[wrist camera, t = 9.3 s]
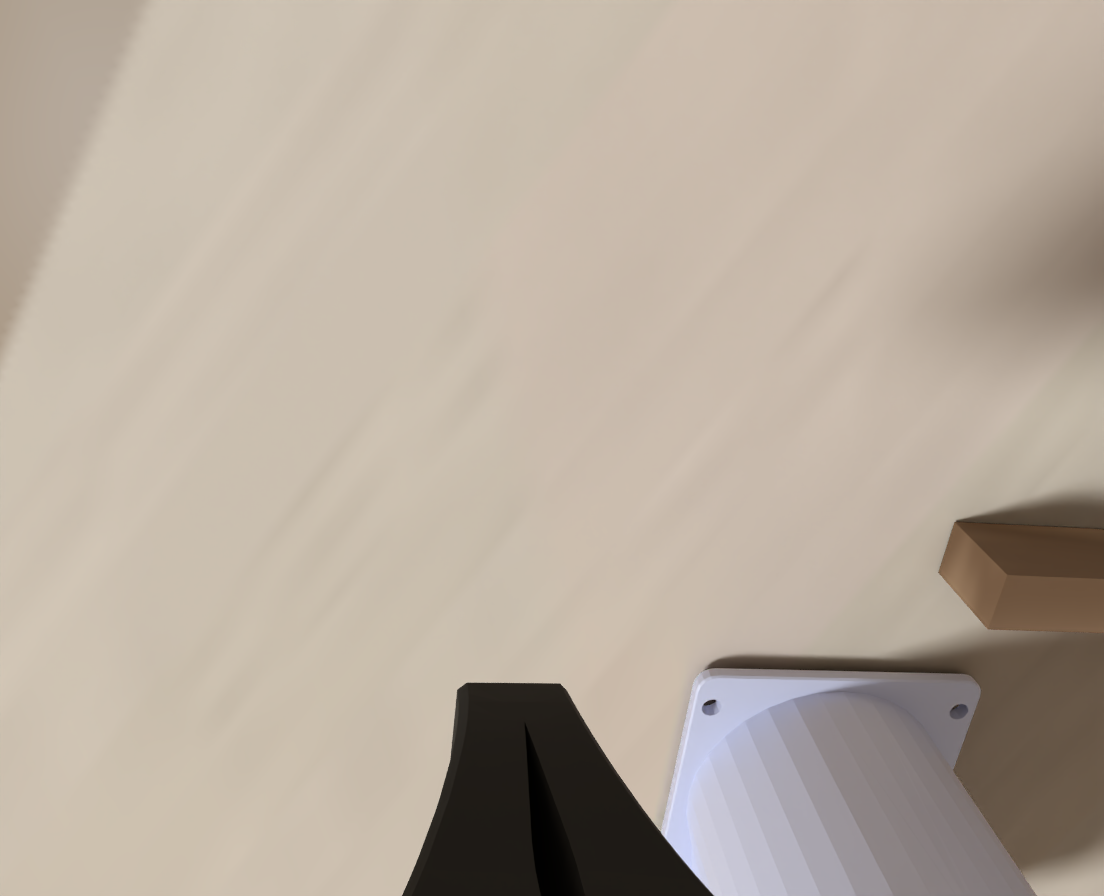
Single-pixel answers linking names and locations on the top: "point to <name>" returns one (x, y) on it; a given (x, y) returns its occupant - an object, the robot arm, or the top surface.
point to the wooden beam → (1028, 575)
